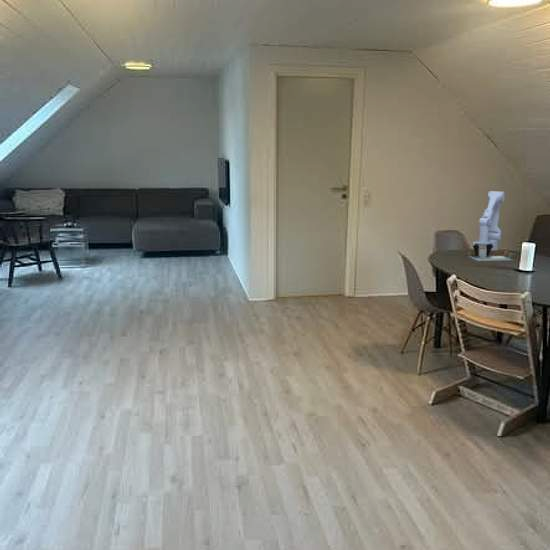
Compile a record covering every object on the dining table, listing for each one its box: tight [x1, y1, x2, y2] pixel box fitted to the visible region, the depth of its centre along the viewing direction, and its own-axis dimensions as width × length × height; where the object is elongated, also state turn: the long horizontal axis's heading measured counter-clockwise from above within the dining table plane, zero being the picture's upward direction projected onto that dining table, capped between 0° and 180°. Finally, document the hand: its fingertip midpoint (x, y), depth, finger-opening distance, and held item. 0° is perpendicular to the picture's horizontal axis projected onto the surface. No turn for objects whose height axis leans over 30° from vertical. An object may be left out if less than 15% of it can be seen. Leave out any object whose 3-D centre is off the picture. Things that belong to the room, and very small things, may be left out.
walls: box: [467, 249, 517, 261], centre depth 378 cm, size 16×26×4 cm, turn 96°
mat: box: [467, 256, 513, 262], centre depth 379 cm, size 16×26×1 cm, turn 96°
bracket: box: [478, 248, 493, 262], centre depth 375 cm, size 10×5×6 cm, turn 6°
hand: (481, 255), depth 379 cm, fingers open, 7 cm apart
